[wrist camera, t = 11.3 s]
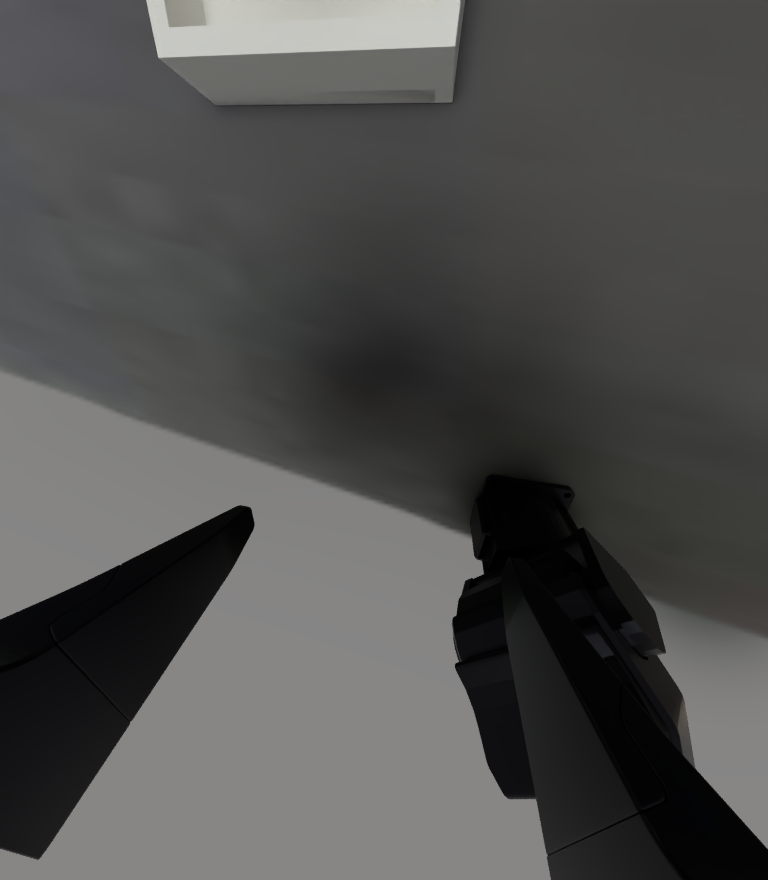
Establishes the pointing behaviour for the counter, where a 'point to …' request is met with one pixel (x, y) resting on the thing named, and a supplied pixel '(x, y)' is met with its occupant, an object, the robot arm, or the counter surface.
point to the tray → (311, 49)
